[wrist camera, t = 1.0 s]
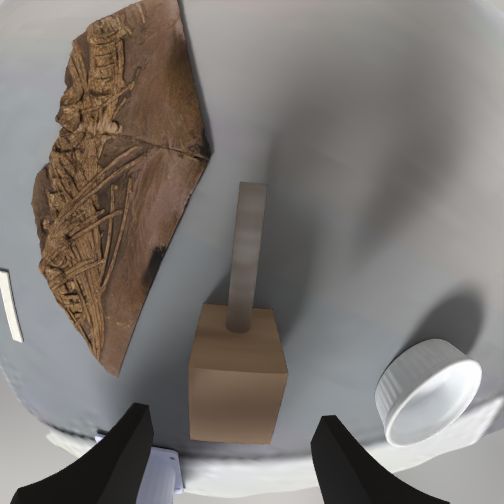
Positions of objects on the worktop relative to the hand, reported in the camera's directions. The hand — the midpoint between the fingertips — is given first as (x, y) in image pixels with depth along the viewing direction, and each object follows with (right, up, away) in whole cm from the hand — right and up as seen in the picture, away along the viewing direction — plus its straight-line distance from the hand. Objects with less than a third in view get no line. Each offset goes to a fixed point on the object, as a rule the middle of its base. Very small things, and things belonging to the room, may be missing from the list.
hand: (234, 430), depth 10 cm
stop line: (-18, +3, +6) cm, 19 cm away
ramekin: (+14, -3, +9) cm, 17 cm away
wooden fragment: (-7, +11, +5) cm, 14 cm away
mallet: (0, +5, +6) cm, 8 cm away
